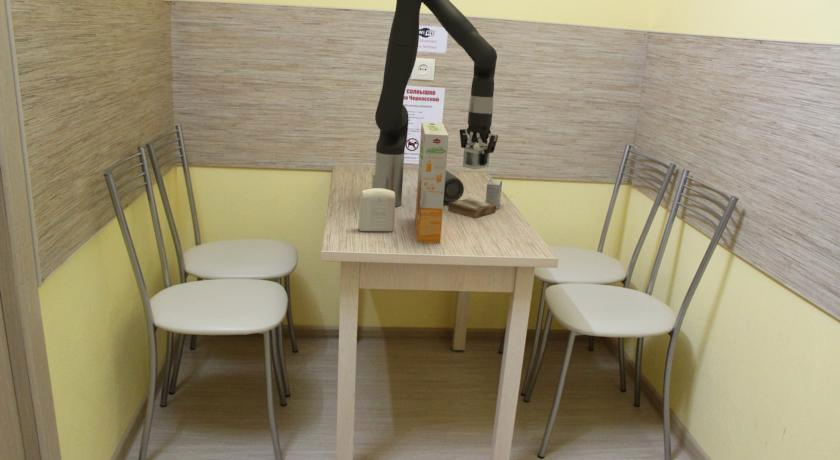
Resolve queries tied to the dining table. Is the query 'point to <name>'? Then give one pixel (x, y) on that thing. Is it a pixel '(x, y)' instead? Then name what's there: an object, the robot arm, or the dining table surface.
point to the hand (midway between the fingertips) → (475, 163)
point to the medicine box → (494, 192)
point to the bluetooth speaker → (452, 188)
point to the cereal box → (431, 181)
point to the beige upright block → (377, 210)
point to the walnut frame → (471, 208)
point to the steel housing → (473, 158)
